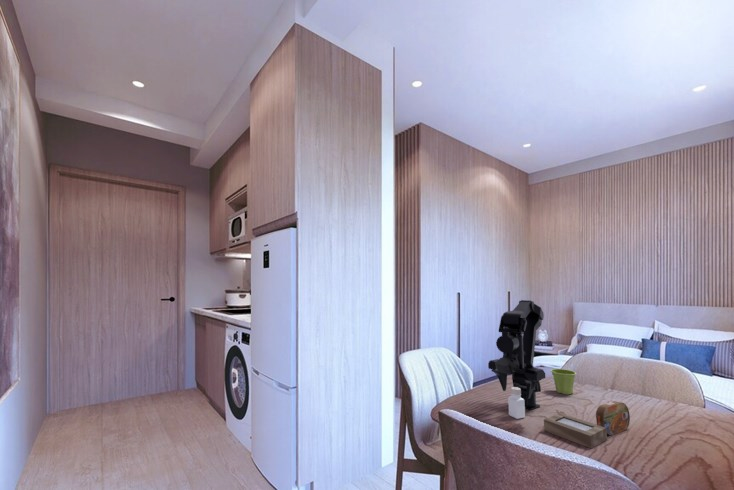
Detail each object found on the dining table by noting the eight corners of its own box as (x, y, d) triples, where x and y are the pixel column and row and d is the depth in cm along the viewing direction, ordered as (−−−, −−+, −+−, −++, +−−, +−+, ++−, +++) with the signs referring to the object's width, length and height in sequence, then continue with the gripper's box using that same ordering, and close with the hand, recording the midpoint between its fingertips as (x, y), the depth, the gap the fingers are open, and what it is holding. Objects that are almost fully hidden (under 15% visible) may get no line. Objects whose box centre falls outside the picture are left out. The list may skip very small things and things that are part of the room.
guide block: (560, 423, 111) (560, 413, 111) (607, 439, 100) (606, 427, 100) (544, 430, 105) (543, 419, 106) (591, 448, 94) (590, 435, 95)
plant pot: (556, 395, 140) (555, 373, 141) (548, 388, 149) (547, 368, 150) (581, 396, 138) (579, 375, 139) (571, 389, 147) (570, 369, 148)
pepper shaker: (508, 415, 118) (507, 387, 119) (516, 413, 119) (515, 386, 120) (517, 419, 114) (516, 390, 115) (525, 418, 115) (524, 389, 116)
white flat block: (564, 421, 108) (564, 418, 108) (593, 431, 101) (593, 427, 101) (556, 424, 105) (556, 421, 105) (585, 435, 98) (585, 431, 98)
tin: (605, 438, 101) (603, 408, 102) (594, 433, 104) (593, 405, 105) (631, 428, 108) (629, 401, 109) (620, 424, 111) (618, 398, 112)
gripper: (477, 346, 122) (479, 391, 121) (526, 356, 107) (528, 407, 105) (496, 343, 129) (498, 386, 127) (545, 352, 113) (547, 400, 111)
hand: (516, 394), depth 117 cm, fingers open, 9 cm apart
